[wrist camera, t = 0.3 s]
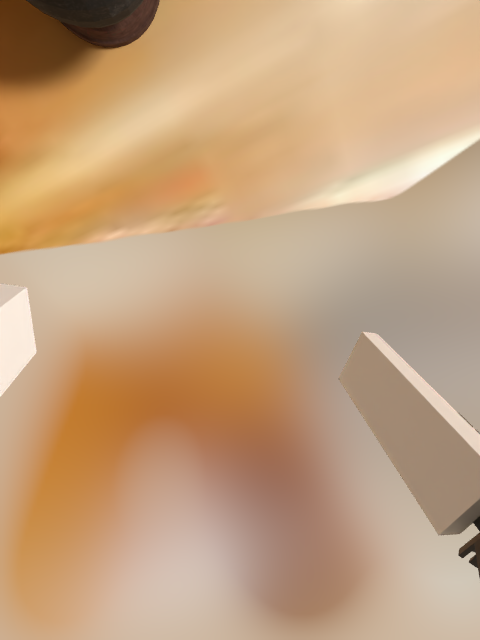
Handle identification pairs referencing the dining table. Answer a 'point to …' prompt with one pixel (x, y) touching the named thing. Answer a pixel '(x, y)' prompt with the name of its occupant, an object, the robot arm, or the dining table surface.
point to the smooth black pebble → (102, 18)
